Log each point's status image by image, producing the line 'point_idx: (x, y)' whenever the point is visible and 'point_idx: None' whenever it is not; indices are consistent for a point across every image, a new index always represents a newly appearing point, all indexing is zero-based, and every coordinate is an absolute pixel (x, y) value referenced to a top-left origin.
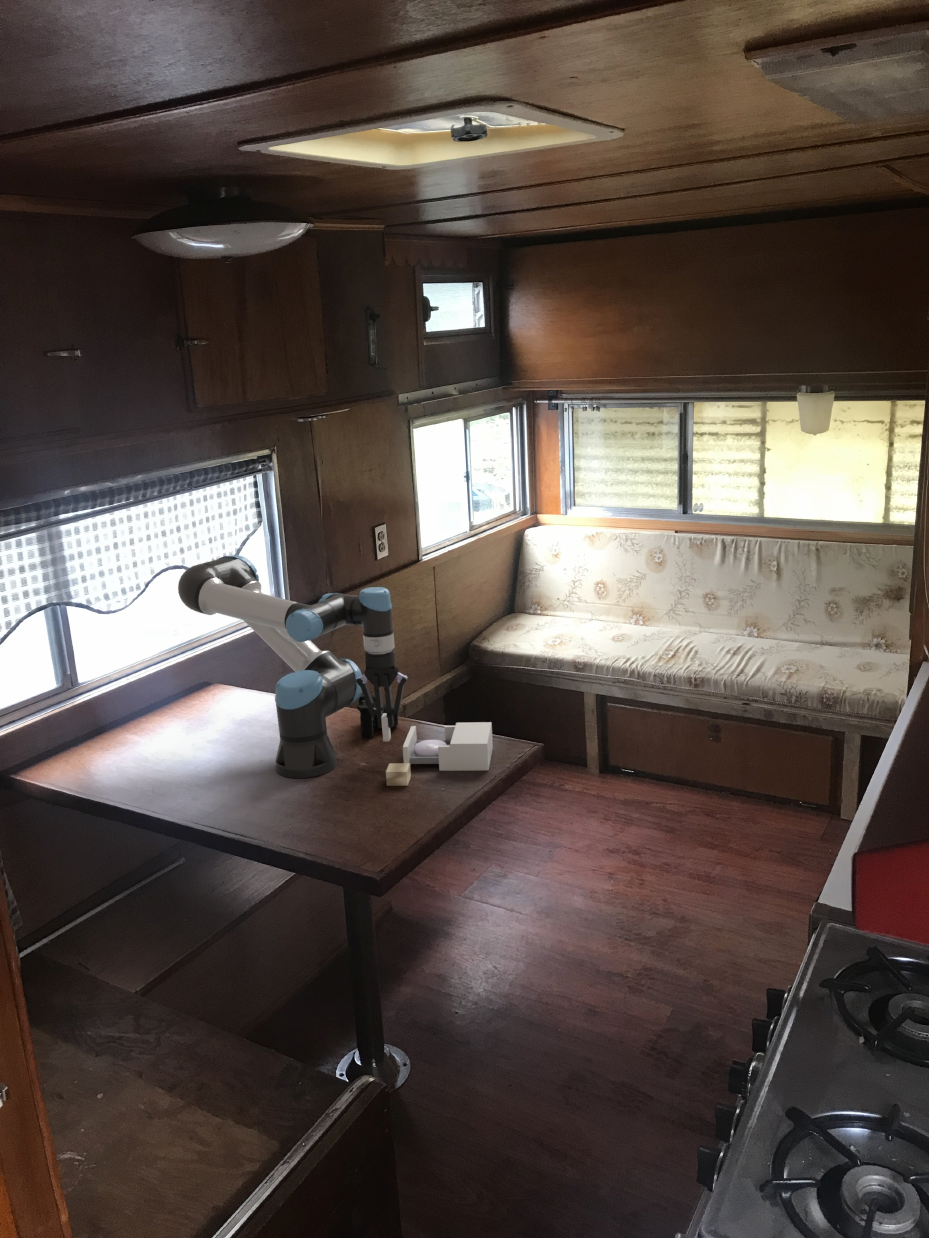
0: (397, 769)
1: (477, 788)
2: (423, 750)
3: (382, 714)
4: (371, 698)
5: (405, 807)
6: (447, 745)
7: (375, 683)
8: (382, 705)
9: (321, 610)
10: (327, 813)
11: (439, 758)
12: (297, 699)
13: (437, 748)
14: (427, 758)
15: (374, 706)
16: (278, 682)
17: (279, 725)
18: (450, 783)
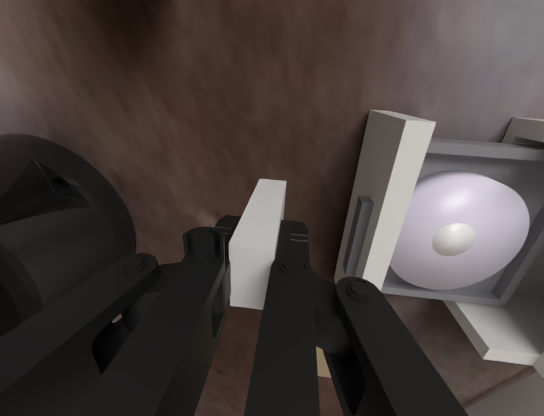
0: (322, 366)
1: (504, 375)
2: (415, 275)
3: (229, 274)
4: (36, 402)
5: (335, 406)
6: (526, 355)
7: None
8: (207, 303)
9: None
10: (200, 399)
11: (458, 319)
12: None
13: (475, 266)
14: (417, 294)
15: (134, 301)
16: None
17: None
18: (446, 348)
